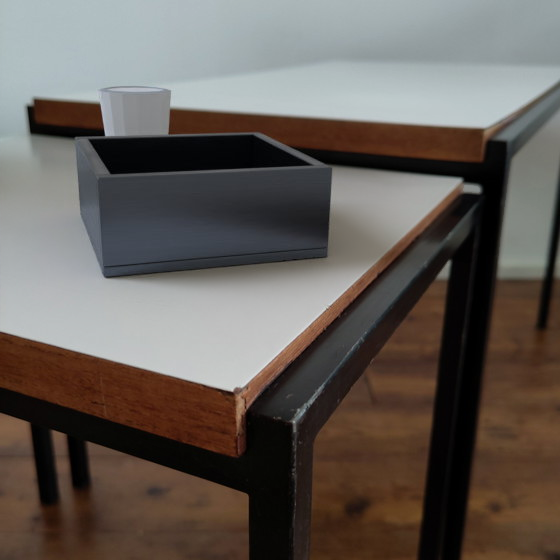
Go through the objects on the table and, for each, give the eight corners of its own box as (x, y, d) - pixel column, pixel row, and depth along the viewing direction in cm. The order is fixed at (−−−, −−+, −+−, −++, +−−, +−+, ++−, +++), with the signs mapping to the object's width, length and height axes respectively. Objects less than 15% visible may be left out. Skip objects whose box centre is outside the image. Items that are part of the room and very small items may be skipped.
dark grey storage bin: (80, 214, 51) (74, 136, 49) (258, 203, 55) (259, 132, 53) (103, 277, 39) (97, 178, 37) (327, 257, 43) (333, 167, 41)
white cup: (118, 153, 73) (114, 84, 71) (181, 157, 72) (180, 87, 70) (91, 165, 67) (86, 90, 64) (160, 170, 66) (157, 93, 63)
